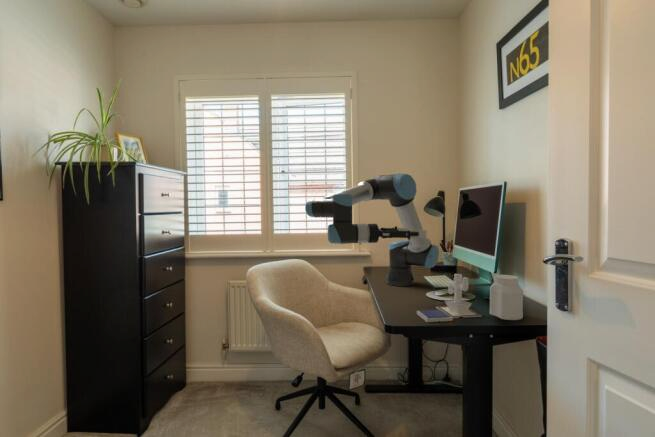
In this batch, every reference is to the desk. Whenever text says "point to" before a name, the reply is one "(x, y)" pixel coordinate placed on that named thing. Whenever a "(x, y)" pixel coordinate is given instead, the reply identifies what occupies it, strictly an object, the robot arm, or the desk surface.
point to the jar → (506, 298)
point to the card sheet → (456, 315)
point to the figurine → (458, 294)
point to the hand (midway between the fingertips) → (419, 232)
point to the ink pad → (434, 315)
